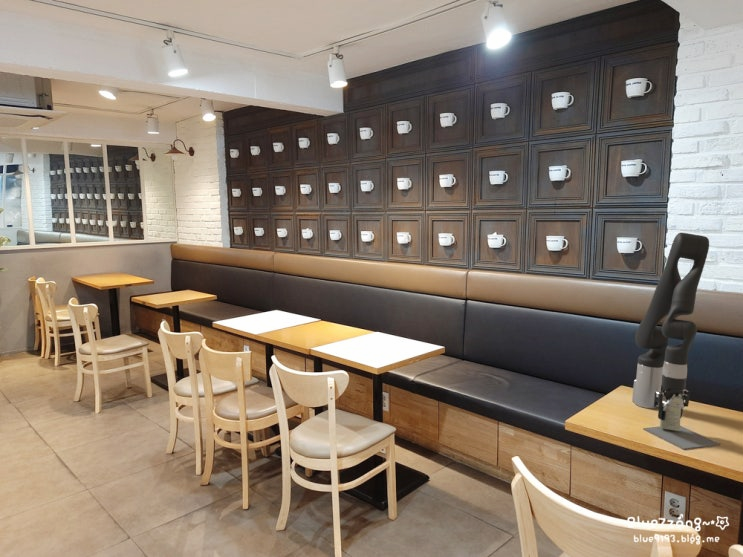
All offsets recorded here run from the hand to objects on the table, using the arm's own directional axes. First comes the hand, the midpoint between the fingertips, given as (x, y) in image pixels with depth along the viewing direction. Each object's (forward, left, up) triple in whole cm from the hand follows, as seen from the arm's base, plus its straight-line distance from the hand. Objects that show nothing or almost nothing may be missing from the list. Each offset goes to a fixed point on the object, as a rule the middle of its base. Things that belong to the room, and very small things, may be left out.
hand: (669, 418), depth 185 cm
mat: (+5, 0, -5) cm, 7 cm away
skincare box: (0, 0, -4) cm, 4 cm away
